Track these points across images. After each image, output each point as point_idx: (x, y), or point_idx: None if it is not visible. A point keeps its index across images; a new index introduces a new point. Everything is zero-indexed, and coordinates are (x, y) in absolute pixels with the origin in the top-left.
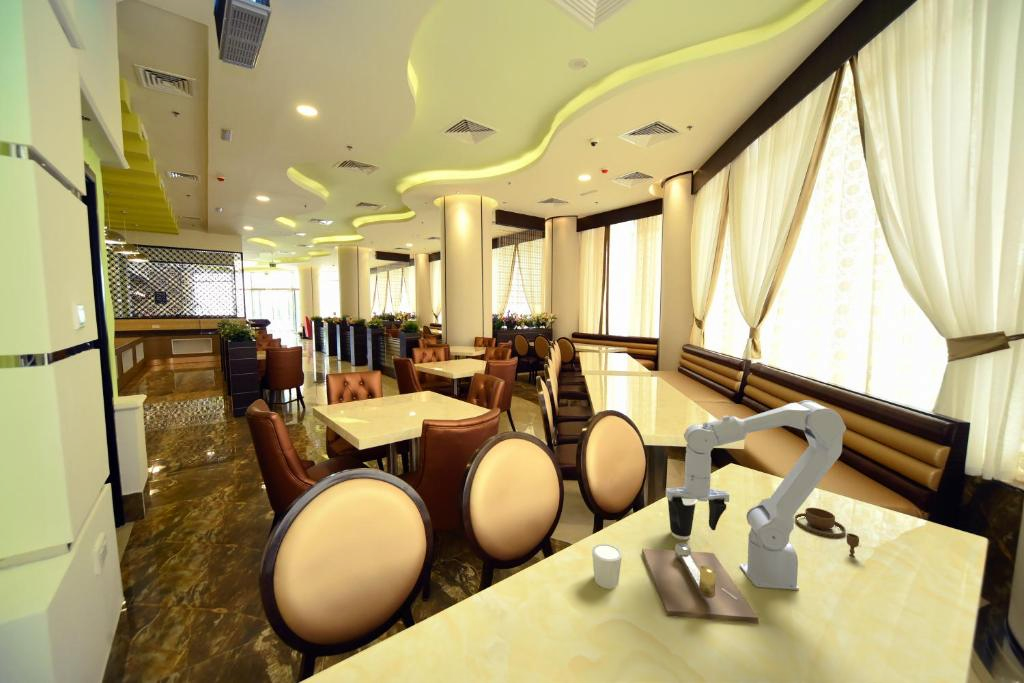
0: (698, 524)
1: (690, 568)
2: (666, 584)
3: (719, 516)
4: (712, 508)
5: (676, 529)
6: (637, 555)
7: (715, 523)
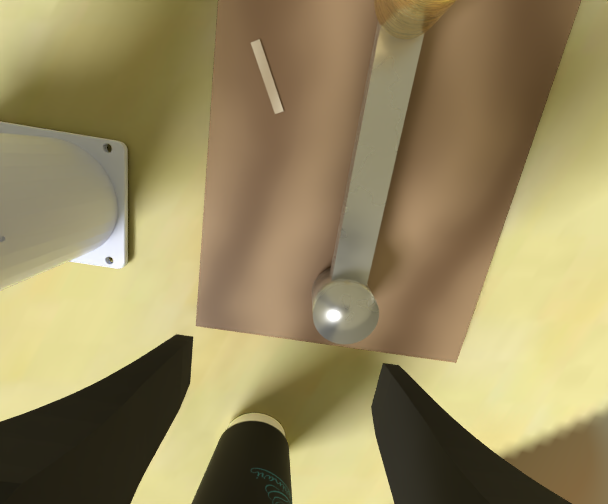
0: (161, 486)
1: (381, 186)
2: (489, 151)
3: (83, 392)
4: (98, 499)
5: (279, 449)
6: (473, 340)
7: (154, 357)
